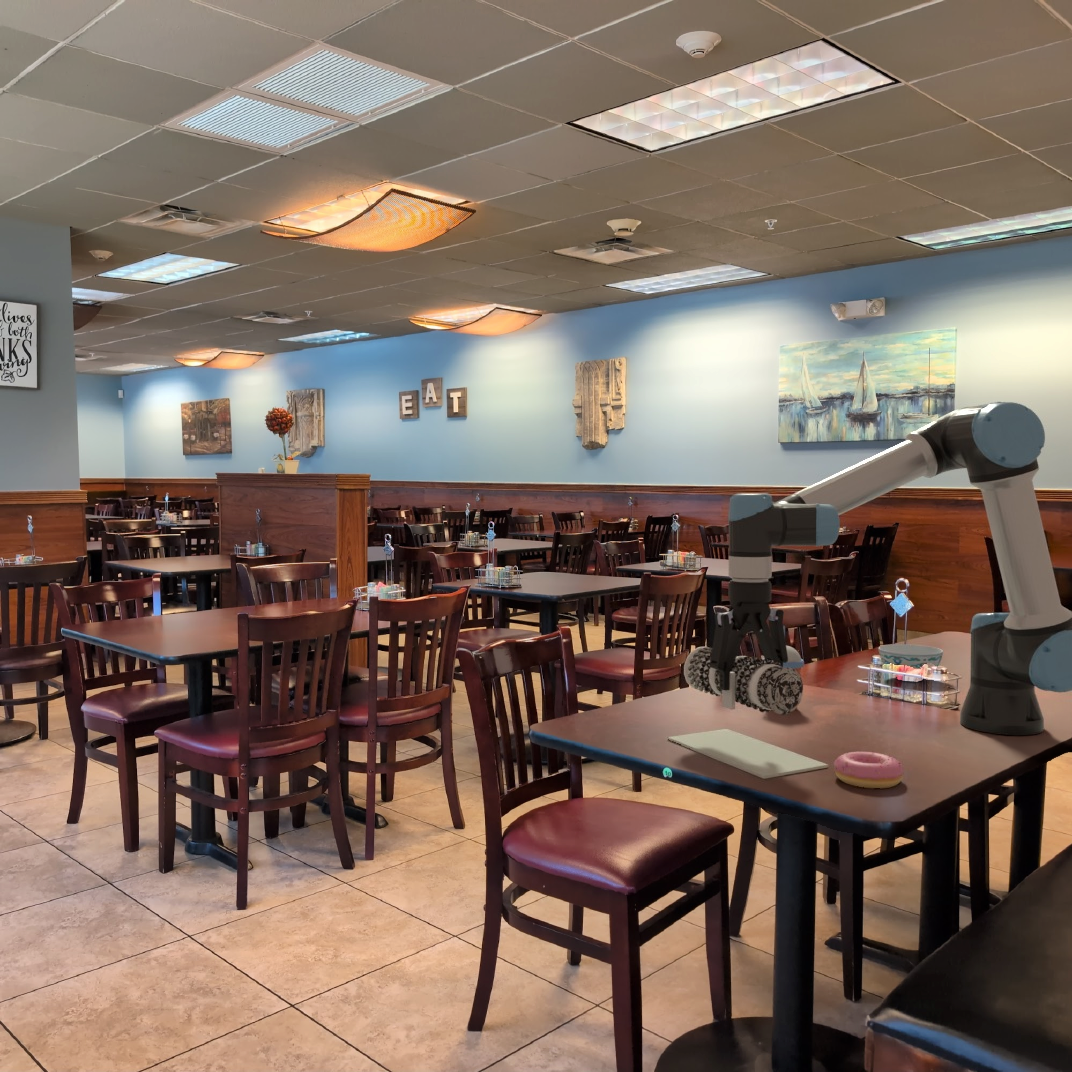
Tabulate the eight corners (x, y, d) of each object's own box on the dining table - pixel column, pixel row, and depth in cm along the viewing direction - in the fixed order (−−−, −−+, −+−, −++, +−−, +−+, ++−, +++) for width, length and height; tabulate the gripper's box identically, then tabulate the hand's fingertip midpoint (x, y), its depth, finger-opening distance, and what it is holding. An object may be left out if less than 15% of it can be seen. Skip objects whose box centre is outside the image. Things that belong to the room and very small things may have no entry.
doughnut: (902, 795, 153) (902, 768, 152) (829, 786, 157) (829, 761, 157) (905, 776, 163) (905, 751, 162) (837, 769, 167) (837, 745, 167)
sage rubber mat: (667, 739, 186) (667, 737, 186) (726, 731, 192) (726, 728, 192) (763, 778, 161) (763, 775, 161) (828, 767, 167) (828, 764, 167)
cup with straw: (785, 714, 206) (785, 630, 205) (752, 706, 213) (752, 625, 212) (812, 708, 211) (813, 626, 210) (779, 701, 218) (780, 621, 218)
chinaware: (938, 675, 247) (939, 645, 247) (945, 687, 233) (946, 655, 232) (876, 672, 252) (877, 643, 251) (879, 684, 237) (880, 652, 237)
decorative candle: (728, 659, 190) (820, 681, 167) (706, 700, 188) (796, 728, 165) (697, 635, 186) (786, 655, 164) (674, 677, 184) (762, 703, 162)
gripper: (782, 575, 182) (781, 695, 183) (688, 580, 172) (688, 707, 173) (810, 578, 175) (808, 703, 176) (714, 584, 165) (713, 716, 167)
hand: (749, 705), depth 175 cm, fingers closed on decorative candle, 8 cm apart
